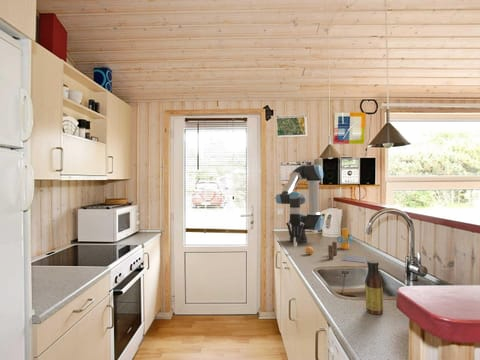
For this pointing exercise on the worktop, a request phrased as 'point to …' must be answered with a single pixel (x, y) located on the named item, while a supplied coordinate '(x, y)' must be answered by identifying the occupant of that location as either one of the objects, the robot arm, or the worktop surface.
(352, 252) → the worktop surface
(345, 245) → the orange blue column
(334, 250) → the post
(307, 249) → the ball
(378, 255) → the worktop surface
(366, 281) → the sauce bottle
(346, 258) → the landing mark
